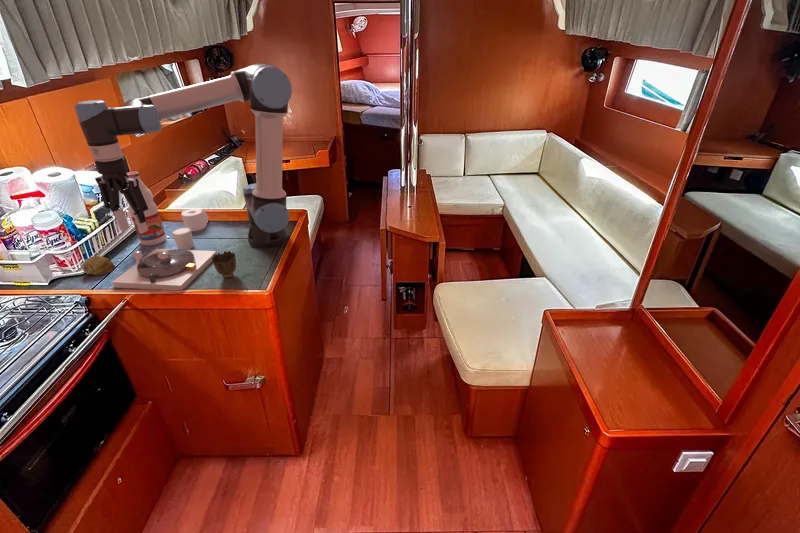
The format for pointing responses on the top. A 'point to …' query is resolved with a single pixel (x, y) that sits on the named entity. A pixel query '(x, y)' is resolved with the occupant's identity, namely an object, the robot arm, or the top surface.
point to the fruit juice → (148, 216)
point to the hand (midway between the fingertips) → (134, 230)
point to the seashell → (98, 266)
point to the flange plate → (164, 263)
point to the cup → (225, 263)
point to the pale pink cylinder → (183, 238)
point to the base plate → (167, 283)
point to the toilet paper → (195, 219)
